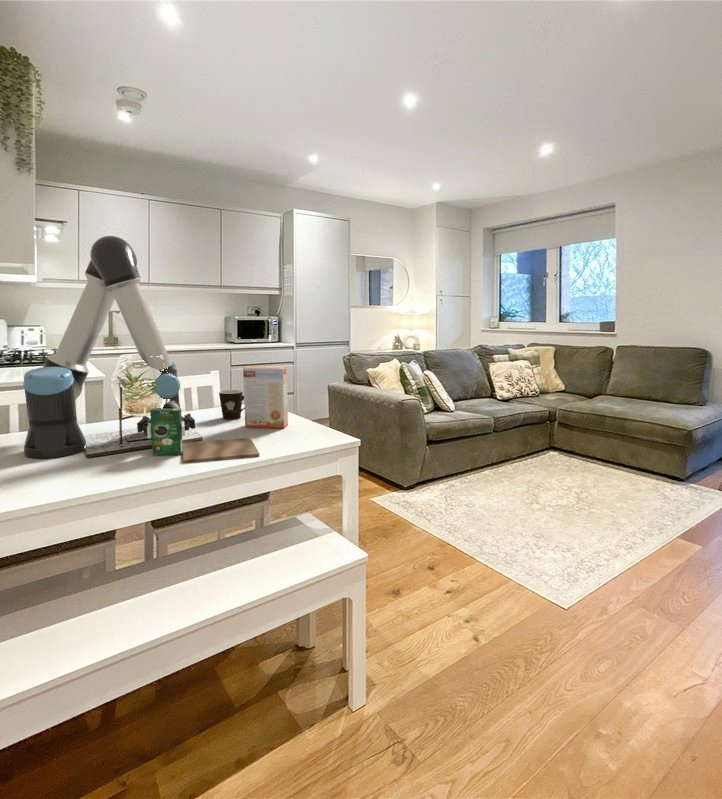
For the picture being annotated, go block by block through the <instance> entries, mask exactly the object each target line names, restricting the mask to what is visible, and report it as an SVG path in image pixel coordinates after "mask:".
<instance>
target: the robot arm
mask: <svg viewBox="0 0 722 799" xmlns="http://www.w3.org/2000/svg"><path fill="white" fill-rule="evenodd" d="M137 260H138V259H137V256H136V253H135V251H134V249H133V247H132V246H131V245H130V244H129V243H128V242H127V240H125V239H124V238H120V237H119V236H115V235H106V236H102V237H100V238H98V239H97V240H95V242H93V244H92V245H91V249H90V260H89V263H88V265H87V268H86V270H85V272H84V275H85V278H86V280H87V282H86V284H85V286H84V289H83V290H82V293H81V296H80V298H79V300H78V302H77V304H76V307H75V309H74V311H73V313H72V316H71V318H70V320H69V323H68V324H67V328H66V329H65V331H64V334H63V336H62V338H61V340H60V342H59V345H58V347H57V350H56V352H55V353H54V354H51V355H48V356H47V358H46V360H45V362H44V363H43V364H44V365H43V366H42V367H38V368H32V369H30V370H28V371H26V372H24V375H23V383H22V384H23V385H22V386H23V388H24V395H25V402H26V403H25V404H26V412H27V420H28V421H27V422H28V429H27V434H26V438H25V441H24V445H23V451H24V453H23V454H24V456H25V457H27V458H31V459H52V458H60V457H66V456H71V455H75V454H79V453H80V452H82V451H85V450H84V446H85V445H86V446H87V441H86V437H85V436H84V434H83V432H82V430H81V427H80V426H79V423H78V418H77V417H78V416H77V406H76V400H77V399H78V398H79V397H80V396H81V394H82V390H83V386H84V384H85V381H86V379H87V376H88V375H89V373H90V371H89V369H88V366H87V363H88V361H89V358H90V357H91V354H92V352H93V349H94V347H95V345H96V343H97V340H98V339H99V337H100V334H101V331H102V329H103V327H104V324H105V323H106V320H107V318H108V316H109V313H110V311H111V309H112V307H113V305H114V303H115V302H116V303H117V307H118V308H119V311H120V313H121V315H122V318H123V320H124V323H125V325H126V327H127V330H128V332H129V334H130V336H131V338H132V341H133V343H134V346H135V348H136V350H137V352H138V355H139V357H140V356H141V358H142V360H144V361H145V362H146V363H148V365H149V366H150V367H151V368H155V369H157V370H159V371H160V372H162V373H161V375H160V376H159V377H158V378H157V379H156V380H155V384H156V385H157V387H155V391H156V392H157V394H158V395H159V396H160V397H161V398H163V399H170V401H169V402H168V403H167V404H165V405H164V407H163V409H181V403H180V395H179V393H180V390H181V382H180V380H179V378H178V370H177V364H176V362H175V361H171V359H170V357H169V353H168V351H167V348H166V346H165V344H164V341H163V339H162V337H161V334H160V331H159V329H158V327H157V324H156V322H155V320H154V317H153V315H152V312H151V310H150V307H149V304H148V303H147V302H148V301H147V300H146V298H145V295H144V293H143V289H142V288H141V285H140V282H141V279H142V278H141V275H140V273H139V271H138V270H139V269H138V267H137V263H138V261H137ZM160 355H163V357H164V360H163V359H161V358H160V357H156V356H160ZM150 356H153V357H150ZM141 358H140V359H141ZM142 360H141V361H142ZM164 363H165V364H164ZM163 364H164V365H163ZM164 366H165V368H166V369H165V368H164ZM166 366H167V367H168V369H167V367H166ZM162 369H164V371H161V370H162ZM166 370H167V371H166ZM167 372H168V373H167ZM169 373H170V375H169ZM181 418H182V437H186V431H190V429H192V430H194V429H196V419H195V418H193V417H192V414H191V413H186V414H185V415H183V416H182V414H181ZM136 425H137V426H136V428H137V433H142V432H143V434H144V435H145V436H147V439H152V437H151V417H149V416H146V415H144V416H142V418H141V419H140V420H139V421H138V422H137V423H136Z"/></svg>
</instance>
